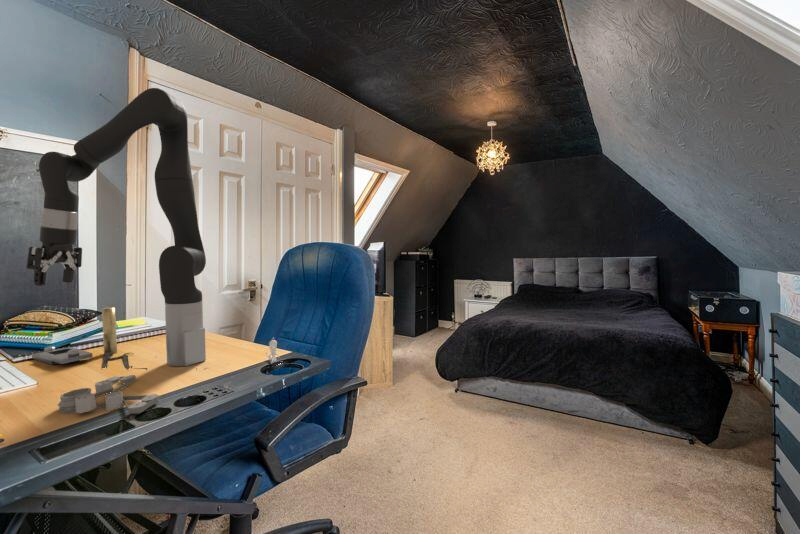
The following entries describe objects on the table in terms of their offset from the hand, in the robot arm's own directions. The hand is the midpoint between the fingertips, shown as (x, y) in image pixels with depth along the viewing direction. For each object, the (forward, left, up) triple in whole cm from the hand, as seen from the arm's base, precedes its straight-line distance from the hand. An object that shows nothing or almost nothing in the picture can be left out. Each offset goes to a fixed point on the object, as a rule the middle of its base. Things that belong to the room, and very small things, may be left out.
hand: (54, 283), depth 105 cm
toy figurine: (-53, -29, -23) cm, 65 cm away
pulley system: (-42, +7, -23) cm, 49 cm away
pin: (-3, -11, -22) cm, 25 cm away
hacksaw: (-17, -8, -23) cm, 30 cm away
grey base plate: (+2, -1, -22) cm, 22 cm away
